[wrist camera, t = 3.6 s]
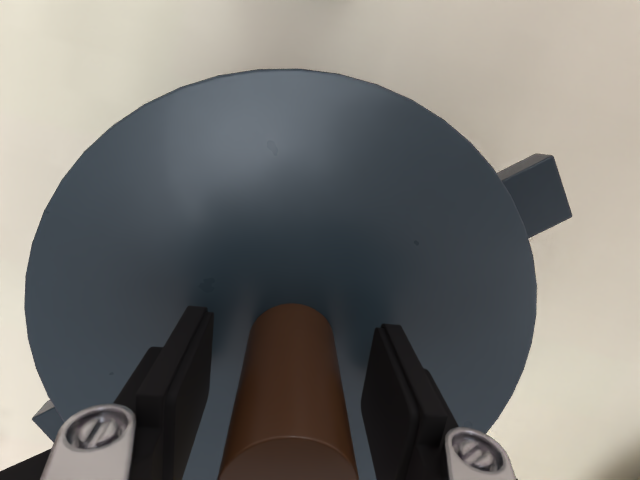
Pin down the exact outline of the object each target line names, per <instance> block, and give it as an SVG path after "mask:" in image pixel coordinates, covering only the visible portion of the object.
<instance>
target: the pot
mask: <svg viewBox="0 0 640 480" xmlns="http://www.w3.org/2000/svg"><path fill="white" fill-rule="evenodd" d="M497 175H498V176H499V178H500V179H501V181H502V183H503V184H504V186H505V187H506V189H507V190H508V192H509V194H510V195H511V197H512V199H513V201H514V203H515V206H516V208H517V210H518V212H519V215H520V217H521V219H522V221H523V224H524V226H525V229H526V233H527V236H528V238H530V237H532V236H534V235H536V234H538V233H540V232H542V231H544V230H546V229H548V228H550V227H553V226H555V225H557V224H559V223H561V222H563V221H565V220H567V219H569V218H571V217H572V213H571V210H570V207H569V204H568V201H567V197H566V194H565V191H564V188H563V185H562V182H561V178H560V175H559V172H558V169H557V166H556V163H555V159H554V157H553V156H552V155H545V154H534V155H532V156H530V157H528V158H526V159H524V160H522V161H520V162H518V163H516V164H514V165H512V166H510V167H508V168H506V169H504V170H502V171H500V172H498V173H497ZM32 420H33V421H34V422H35V423H36V424H37V425H38V426H39V427H40V429H41V430H42V431H43V432H44V433H45V434H46V435H47V436H48V437H49V438H50V439H51V440H52V441H53V442H54V441H55V439H56V436H57V433H58V431H59V430H60V428H61V426H62V425H63V423H65V422H64V421H63V420H62V418H61V416H60V415H59V413H58V411H57V410H56V408H55V406H54V405H53V403H52V402H51V400H49V401H47V402H46V403H45V404H44V405H43V407H42V408H41V409H40V410H39V411H38V412H37V413H36V414H35V416H34V417H33V418H32Z"/></svg>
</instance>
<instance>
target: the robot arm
mask: <svg viewBox="0 0 640 480" xmlns="http://www.w3.org/2000/svg"><path fill="white" fill-rule="evenodd" d="M213 325H214V313H213V312H208V308H207V307H200V306H188V307H187V308H186V310H185V311H184V313H183V315H182V317H181V318H180V320H179V322H178V323H177V325H176V327H175V328H174V330H173V332H172V333H171V335H170V337H169V339H168V340H167V342H166V344H165V345H164V347H154V346H152V347H150V348H149V349H148V351H147V352H146V354H145V355H144V357H143V358H142V360H141V361H140V363H139V364H138V366H137V367H136V369H135V370H134V372H133V373H132V375H131V377H130V378H129V380H128V381H127V383H126V384H125V386H124V387H123V389H122V390H121V392H120V393H119V395H118V396H117V398H116V400H115V401H114V403H113V404H100V405H95V406H91V407H89V408H86V409H83V410H81V411H79V412H78V413H76V414H74V415H73V416H71V417H70V418H69V419H68V420H67V421H66V422H65V423H63V425H62V426H61V428H60V430H59V431H58V433H57V436H56V439H55V441H54V444H53V447H52V448H51V449H49V450H47V451H45V452H43V453H40V454H38V455H36V456H34V457H31V458H29V459H27V460H25V461H23V462H20V463H18V464H16V465H14V466H11V467H9V468H7V469H5V470H3V471H0V480H182V478H183V475H184V472H185V469H186V466H187V462H188V459H189V456H190V453H191V450H192V447H193V444H194V441H195V437H196V434H197V431H198V428H199V425H200V422H201V419H202V416H203V412H204V409H205V406H206V403H207V400H208V395H209V388H210V373H211V357H212V341H213ZM361 413H362V418H363V422H364V426H365V431H366V435H367V440H368V444H369V448H370V453H371V457H372V462H373V466H374V471H375V475H376V479H377V480H518V479H516V477H515V474H514V471H513V468H512V465H511V462H510V459H509V457H508V455H507V453H506V451H505V450H504V449H503V448H502V446H501V445H500V444H499V443H498V442H496V441H495V440H494V439H493V438H491V437H490V436H488V435H486V434H485V433H483V432H481V431H478V430H475V429H473V428H467V427H459V426H458V424H457V422H456V420H455V418H454V416H453V414H452V413H451V411H450V409H449V407H448V405H447V403H446V401H445V400H444V398H443V396H442V394H441V392H440V390H439V388H438V387H437V385H436V383H435V381H434V379H433V377H432V375H431V374H430V372H429V371H428V370H427V369H424V368H423V367H422V365H421V363H420V361H419V359H418V357H417V355H416V353H415V351H414V349H413V348H412V346H411V344H410V342H409V340H408V338H407V336H406V334H405V332H404V330H403V328H402V326H401V325H395V324H384V323H383V324H382V325H381V327H380V328H378V327H376V328H375V330H374V335H373V340H372V345H371V350H370V355H369V360H368V366H367V371H366V376H365V381H364V386H363V391H362V396H361Z"/></svg>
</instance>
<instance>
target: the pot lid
mask: <svg viewBox="0 0 640 480" xmlns="http://www.w3.org/2000/svg"><path fill="white" fill-rule="evenodd" d="M536 298H537V284H536V276H535V268H534V260H533V254H532V251H531V247H530V243H529V240H528V236H527V233H526V229H525V226H524V224H523V221H522V219H521V217H520V215H519V212H518V210H517V208H516V206H515V203H514V201H513V199H512V197H511V195H510V194H509V192H508V190H507V189H506V187H505V186H504V184H503V183H502V181H501V179H500V178H499V176H498V175H497V173H496V172H495V170H494V169H493V167H492V166H491V165H490V164H489V163H488V162H487V161H486V159H485V158H484V157H483V156H482V155H481V154H480V153H479V151H478V150H477V149H476V148H475V147H474V146H473V145H472V143H471V142H469V141H468V140H467V139H466V138H465V137H464V136H462V135H461V134H460V133H459V132H458V131H457V130H455V129H454V128H453V127H452V126H451V125H449V124H448V123H447V122H446V121H445V120H444V119H442V118H440V117H439V116H437V115H436V114H434V113H432V112H431V111H429V110H428V109H426V108H424V107H423V106H421V105H420V104H418V103H416V102H415V101H413V100H411V99H409V98H407V97H405V96H402V95H400V94H398V93H395V92H393V91H391V90H389V89H386V88H384V87H382V86H379V85H377V84H374V83H370V82H367V81H363V80H359V79H356V78H352V77H349V76H345V75H341V74H336V73H329V72H321V71H313V70H306V69H257V70H250V71H244V72H237V73H231V74H224V75H218V76H215V77H212V78H209V79H205V80H202V81H199V82H196V83H192V84H189V85H186V86H183V87H180V88H177V89H175V90H173V91H171V92H169V93H167V94H165V95H163V96H161V97H159V98H156V99H154V100H152V101H150V102H148V103H146V104H144V105H142V106H141V107H139V108H138V109H137V110H135V111H134V112H132V113H131V114H129V115H128V116H126V117H125V118H123V119H122V120H120V121H119V122H117V123H116V124H114V125H113V126H112V127H110V128H109V129H108V130H107V131H106V132H105V133H104V134H103V135H102V136H101V137H100V138H98V139H97V140H96V141H95V142H94V143H93V144H92V145H91V146H90V147H89V148H88V149H87V150H85V151H84V153H83V154H82V155H81V156H80V158H79V159H78V160H77V161H76V163H75V164H74V165H73V166H72V168H71V169H70V170H69V171H68V173H67V174H66V175H65V176H64V178H63V179H62V180H61V182H60V184H59V186H58V187H57V189H56V191H55V193H54V195H53V196H52V198H51V200H50V202H49V203H48V205H47V207H46V209H45V210H44V213H43V215H42V218H41V221H40V224H39V226H38V229H37V232H36V234H35V237H34V240H33V242H32V247H31V252H30V257H29V262H28V267H27V272H26V281H25V307H24V308H25V317H26V325H27V334H28V340H29V344H30V348H31V351H32V355H33V359H34V362H35V366H36V369H37V372H38V374H39V376H40V378H41V381H42V383H43V385H44V388H45V390H46V392H47V395H48V397H49V398H50V400H51V402H52V403H53V405H54V406H55V408H56V410H57V411H58V413H59V415H60V416H61V418H62V420H63V421H64V422H66V421H67V420H68V419H69V418H70V417H71V416H73V415H74V414H76V413H78V412H79V411H81V410H83V409H86V408H89V407H91V406H95V405H100V404H113V403H114V401H115V400H116V398H117V396H118V395H119V393H120V392H121V390H122V389H123V387H124V386H125V384H126V383H127V381H128V380H129V378H130V377H131V375H132V373H133V372H134V370H135V369H136V367H137V366H138V364H139V363H140V361H141V360H142V358H143V357H144V355H145V354H146V352H147V351H148V349H149V348H150V347H152V346H154V347H164V345H165V344H166V342H167V340H168V339H169V337H170V335H171V333H172V332H173V330H174V328H175V327H176V325H177V323H178V322H179V320H180V318H181V317H182V315H183V313H184V311H185V310H186V308H187V307H188V306H200V307H207V308H208V312H213V313H214V325H213V341H212V357H211V373H210V388H209V395H208V400H207V403H206V406H205V409H204V412H203V416H202V419H201V422H200V425H199V428H198V431H197V434H196V437H195V441H194V444H193V447H192V450H191V453H190V456H189V459H188V462H187V466H186V469H185V472H184V475H183V478H182V480H377V479H376V475H375V471H374V466H373V462H372V457H371V453H370V448H369V444H368V440H367V435H366V431H365V426H364V422H363V418H362V413H361V396H362V391H363V386H364V381H365V376H366V371H367V366H368V360H369V355H370V350H371V345H372V340H373V335H374V330H375V328H376V327H378V328H380V327H381V325H382V324H383V323H384V324H395V325H401V326H402V328H403V330H404V332H405V334H406V336H407V338H408V340H409V342H410V344H411V346H412V348H413V349H414V351H415V353H416V355H417V357H418V359H419V361H420V363H421V365H422V367H423V368H424V369H427V370H428V371H429V372H430V374H431V375H432V377H433V379H434V381H435V383H436V385H437V387H438V388H439V390H440V392H441V394H442V396H443V398H444V400H445V401H446V403H447V405H448V407H449V409H450V411H451V413H452V414H453V416H454V418H455V420H456V422H457V424H458V426H459V427H467V428H473V429H475V430H478V431H481V432H483V433H485V434H486V433H487V432H488V430H489V429H490V428H491V426H492V425H493V424H494V423H495V421H496V420H497V419H498V417H499V416H500V414H501V412H502V411H503V409H504V408H505V406H506V404H507V403H508V401H509V399H510V398H511V396H512V394H513V392H514V390H515V388H516V385H517V383H518V381H519V379H520V377H521V374H522V372H523V370H524V367H525V363H526V360H527V357H528V353H529V350H530V347H531V344H532V338H533V332H534V325H535V319H536Z"/></svg>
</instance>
